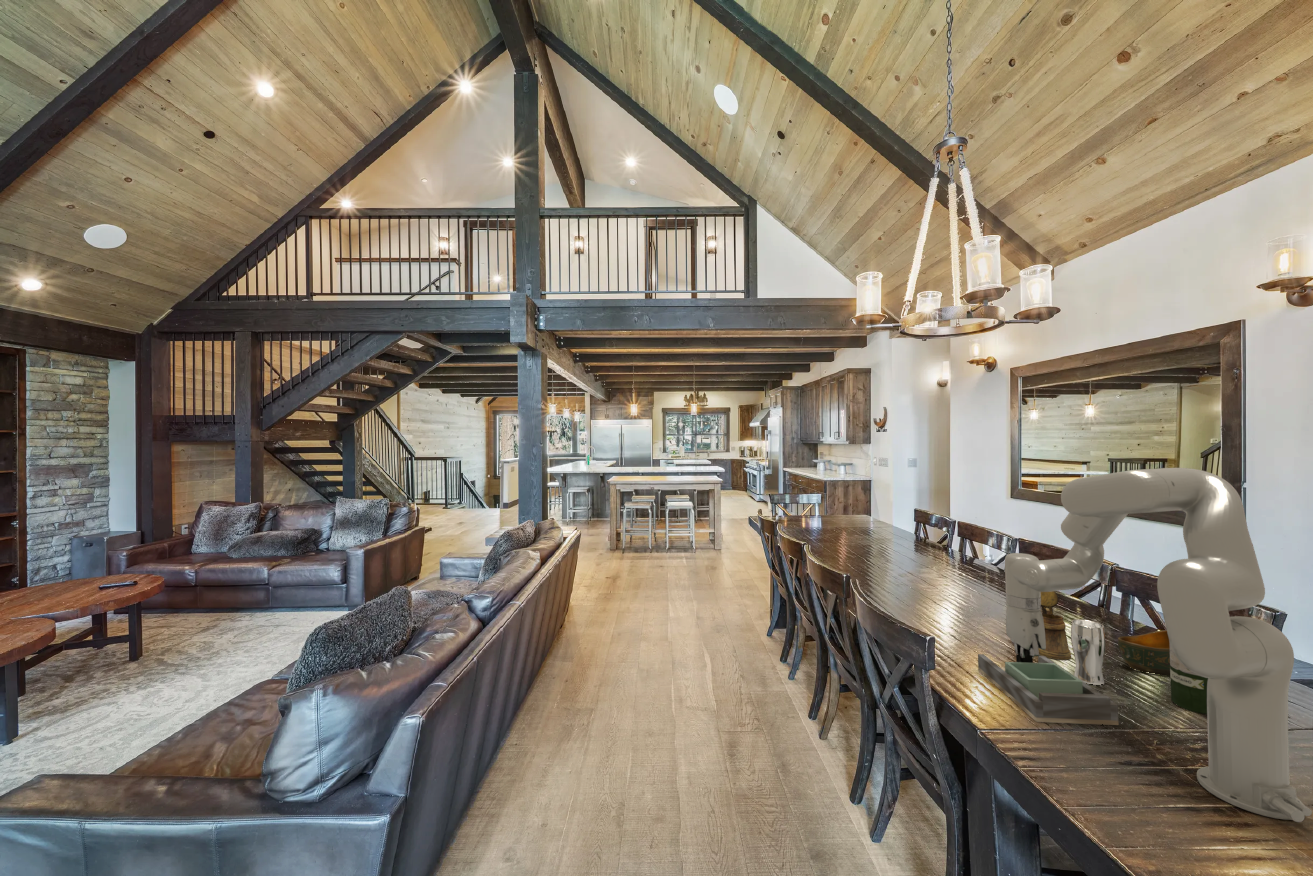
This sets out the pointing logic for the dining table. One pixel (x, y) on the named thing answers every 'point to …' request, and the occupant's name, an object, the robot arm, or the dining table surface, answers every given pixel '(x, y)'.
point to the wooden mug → (1053, 629)
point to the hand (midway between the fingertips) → (1024, 670)
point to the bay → (1053, 699)
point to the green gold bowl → (1147, 652)
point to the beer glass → (1088, 650)
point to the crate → (1044, 678)
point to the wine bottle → (1187, 687)
